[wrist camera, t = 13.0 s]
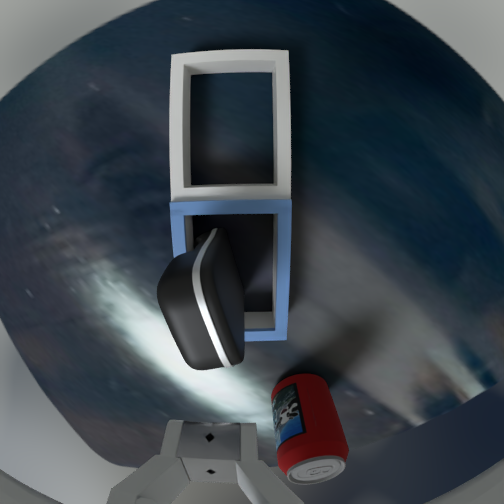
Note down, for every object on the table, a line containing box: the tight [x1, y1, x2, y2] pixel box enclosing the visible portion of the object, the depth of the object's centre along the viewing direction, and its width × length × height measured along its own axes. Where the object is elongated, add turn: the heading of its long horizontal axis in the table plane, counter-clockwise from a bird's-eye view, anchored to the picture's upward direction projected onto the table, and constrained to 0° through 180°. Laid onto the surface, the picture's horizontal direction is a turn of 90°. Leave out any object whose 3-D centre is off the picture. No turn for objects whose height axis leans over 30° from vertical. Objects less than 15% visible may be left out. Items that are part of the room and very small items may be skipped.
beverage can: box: [271, 374, 349, 484], centre depth 25 cm, size 7×7×12 cm
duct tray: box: [170, 49, 292, 341], centre depth 22 cm, size 9×24×4 cm, turn 1°
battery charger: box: [157, 228, 245, 370], centre depth 20 cm, size 7×4×11 cm, turn 15°
